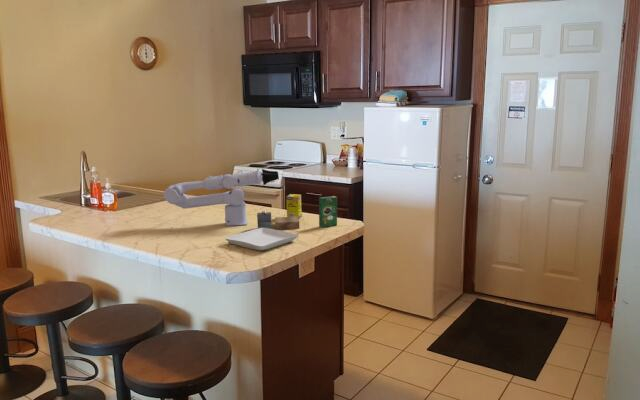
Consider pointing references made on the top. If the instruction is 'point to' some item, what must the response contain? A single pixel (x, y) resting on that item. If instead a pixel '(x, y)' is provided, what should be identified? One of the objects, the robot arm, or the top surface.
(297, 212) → the supplement box
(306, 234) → the top surface
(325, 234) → the top surface
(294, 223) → the stand
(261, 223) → the block
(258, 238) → the salad plate
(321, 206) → the coffee box
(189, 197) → the robot arm
